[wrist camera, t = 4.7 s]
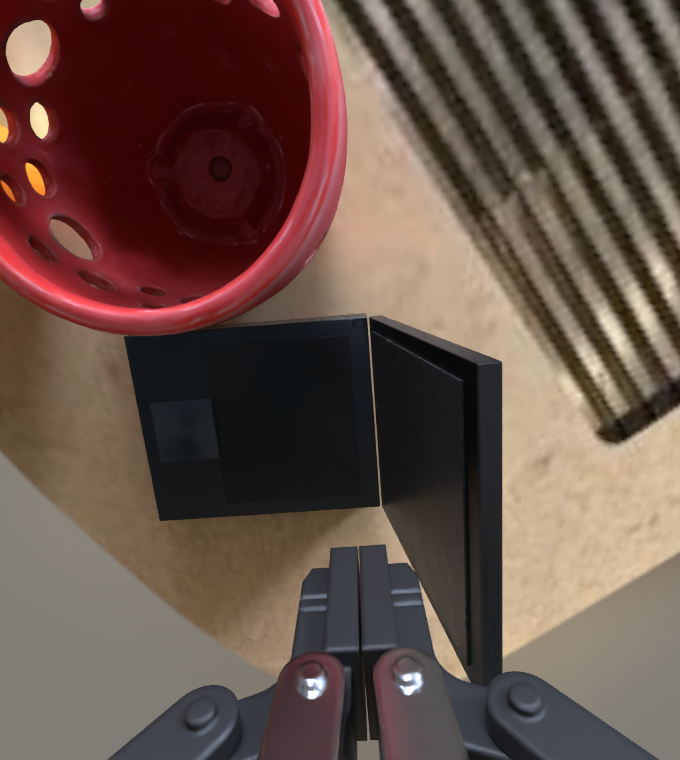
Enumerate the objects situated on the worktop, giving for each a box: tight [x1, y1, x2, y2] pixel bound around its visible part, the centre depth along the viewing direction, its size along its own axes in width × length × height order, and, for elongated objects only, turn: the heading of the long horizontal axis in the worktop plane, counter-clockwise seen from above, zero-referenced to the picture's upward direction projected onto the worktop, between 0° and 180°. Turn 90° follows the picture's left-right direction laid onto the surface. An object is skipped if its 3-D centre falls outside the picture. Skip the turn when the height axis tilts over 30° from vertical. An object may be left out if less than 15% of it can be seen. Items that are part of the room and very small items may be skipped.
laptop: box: [124, 314, 380, 521], centre depth 27 cm, size 13×11×2 cm
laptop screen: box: [369, 316, 502, 687], centre depth 20 cm, size 13×11×1 cm
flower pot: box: [0, 0, 347, 336], centre depth 19 cm, size 13×13×12 cm
